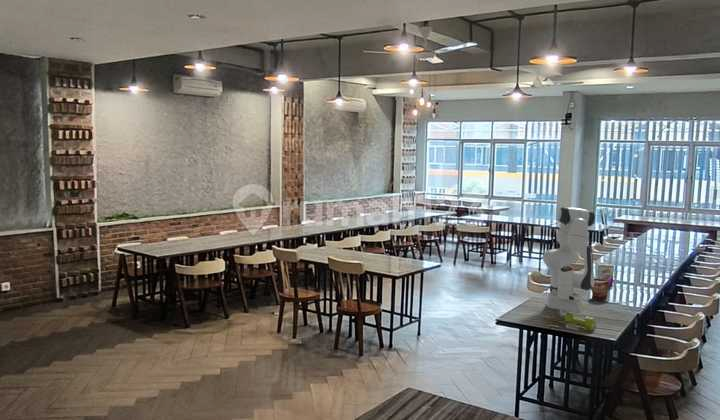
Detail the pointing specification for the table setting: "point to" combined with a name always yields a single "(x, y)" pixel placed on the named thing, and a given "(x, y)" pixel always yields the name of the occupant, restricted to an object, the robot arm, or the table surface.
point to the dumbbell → (580, 321)
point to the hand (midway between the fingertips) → (564, 317)
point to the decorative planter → (600, 290)
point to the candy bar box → (606, 273)
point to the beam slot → (564, 323)
